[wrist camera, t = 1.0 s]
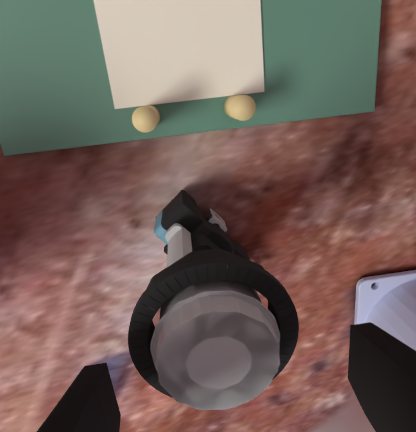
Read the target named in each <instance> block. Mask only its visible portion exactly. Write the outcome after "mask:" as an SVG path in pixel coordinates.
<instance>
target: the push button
mask: <svg viewBox="0 0 416 432" xmlns="http://www.w3.org/2000/svg"><path fill="white" fill-rule="evenodd" d="M209 210H210V214H211V216H212V217H211V218H210V219H209V220H207V219H206V218H205V217H203V216H202V215H201V213H200V211H199V208H198V206H197V204H196V202H195V200H194V199H193V198H192V197H191V196H190V195H189V194H187V193H186V192H185V191H184V190H181V191H180V192H179V193H178V195H177V196H176V197H175V198H174V199H173V200H172V201H171V202H170V203H169V204H168V205H167V206H166V207H165V208H164V209H163V210H162V211H161V213H160V214H159V215H158V216H157V217H156V222H155V228H154V232H155V234H156V235H157V236H158V237H159V238H160V239H161V240H162V241H164V242H165V243H166V244H167V245H166V246H165V247H164V252H165V253H166V254H167V268H165V269H164V270H162V271H161V272H159V273H158V274H156V275H155V276H154V277H152V279H151V281H150V283H149V285H148V287H147V289H146V290H145V292H144V293H143V294H142V295H141V297H140V299H139V300H138V302H137V304H136V306H135V308H134V311H133V314H132V317H131V322H130V326H129V332H128V346H129V351H130V355H131V358H132V361H133V363H134V365H135V367H136V369H137V370H138V372H139V373H140V375H141V376H142V377H143V378H144V379H145V380H146V381H147V382H148V383H149V384H150V385H151V386H153V387H154V388H155V389H157V390H158V391H160V392H162V393H163V394H166V395H168V396H170V397H172V398H174V399H175V400H176V401H178V402H180V403H183V404H186V405H189V406H191V407H194V408H197V409H199V410H219V409H229V408H234V407H236V406H238V405H240V404H243V403H246V402H248V401H251V400H252V399H253V398H254V397H256V396H257V395H259V394H261V393H262V392H263V390H264V389H265V388H267V387H268V386H269V385H270V383H271V381H272V380H273V379H274V378H275V377H276V376H277V375H278V374H279V373H280V372H281V371H282V370H283V368H284V367H285V366H286V364H287V363H288V361H289V360H290V358H291V356H292V354H293V352H294V349H295V346H296V343H297V339H298V331H299V324H298V316H297V312H296V309H295V306H294V304H293V302H292V300H291V298H290V296H289V295H288V293H287V291H286V290H285V288H284V287H283V286H282V284H281V283H280V282H279V281H278V280H277V279H276V278H275V277H274V276H273V275H271V274H270V273H269V272H267V271H266V270H265V269H264V268H263V267H262V266H261V265H259V264H257V263H254V262H252V261H250V260H249V258H248V256H247V254H246V251H245V250H244V248H243V247H242V246H241V245H240V244H239V243H238V242H236V241H231V240H230V239H229V237H228V235H227V234H226V233H225V232H226V231H227V228H226V225H225V222H224V220H223V219H222V218H221V217H220V216H219V215H218V214H217V213H216V212H214V211H213V210H212V209H209ZM217 217H218V218H217ZM257 291H258V292H259V293H261V294H262V295H263V296H264V297H266V298H267V300H268V309H267V308H266V307H265V306H264V305H263V304H262V303H261V301H260V298H259V296H258V293H257ZM160 307H161V311H160V320H159V322H158V323H157V325H156V327H154V324H153V321H152V319H153V317H154V316H155V314H156V312H157V311H158V309H159V308H160Z"/></svg>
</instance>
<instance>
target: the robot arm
mask: <svg viewBox="0 0 416 432" xmlns="http://www.w3.org/2000/svg"><path fill="white" fill-rule="evenodd" d="M373 283H375V284H374V285H373V286H371V285H372V284H373ZM348 379H349V382H350V384H351V386H352V388H353V390H354V392H355V394H356V397H357V399H358V401H359V403H360V405H361V407H362V409H363V411H364V413H365V415H366V416H367V418H368V420H369V421H370V423H371V425H372V426H373V428H374V429H375V431H376V432H416V270H412V271H405V272H398V273H391V274H385V275H378V276H371V277H364V278H361V279H360V280H359V281H358V282H357V285H356V302H355V320H354V325H351V329H350V348H349V367H348ZM120 416H121V415H120V411H119V407H118V404H117V400H116V396H115V393H114V389H113V386H112V382H111V378H110V375H109V371H108V367H107V364H106V363H102V364H95V365H89V366H85V367H84V368H83V369H82V370H81V372H80V373H79V374H78V376H77V377H76V379H75V380H74V381H73V383H72V384H71V386H70V387H69V388H68V390H67V391H66V393H65V394H64V395H63V397H62V398H61V400H60V401H59V402H58V404H57V405H56V407H55V408H54V409H53V411H52V412H51V413H50V415H49V416H48V417H47V419H46V420H45V421H44V423H43V424H42V425H41V427H40V428H39V429H38V431H37V432H119V428H120Z"/></svg>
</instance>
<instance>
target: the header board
mask: <svg viewBox="0 0 416 432" xmlns="http://www.w3.org/2000/svg"><path fill="white" fill-rule="evenodd" d="M381 1H382V0H0V145H1V148H2V151H3V154H4V156H9V155H17V154H25V153H33V152H42V151H50V150H58V149H67V148H75V147H83V146H92V145H100V144H108V143H116V142H125V141H133V140H141V139H150V138H158V137H166V136H174V135H183V134H191V133H199V132H208V131H216V130H224V129H233V128H241V127H249V126H257V125H266V124H274V123H282V122H291V121H299V120H307V119H315V118H324V117H332V116H340V115H349V114H357V113H365V112H374V110H375V94H376V79H377V63H378V47H379V32H380V16H381Z"/></svg>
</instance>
